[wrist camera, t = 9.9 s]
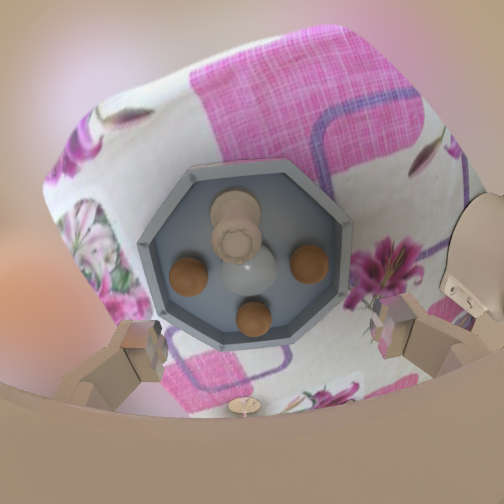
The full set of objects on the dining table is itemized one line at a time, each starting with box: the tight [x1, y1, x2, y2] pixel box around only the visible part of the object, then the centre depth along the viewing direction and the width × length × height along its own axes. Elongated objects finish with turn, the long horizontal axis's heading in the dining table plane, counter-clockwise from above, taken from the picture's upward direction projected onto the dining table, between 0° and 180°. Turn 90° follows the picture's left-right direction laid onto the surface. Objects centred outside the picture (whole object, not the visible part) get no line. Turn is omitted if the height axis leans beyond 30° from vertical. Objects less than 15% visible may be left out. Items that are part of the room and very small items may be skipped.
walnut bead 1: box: [169, 257, 208, 297], centre depth 25 cm, size 4×4×4 cm
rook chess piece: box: [210, 186, 262, 265], centre depth 21 cm, size 4×4×8 cm
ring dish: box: [137, 157, 353, 352], centre depth 26 cm, size 19×19×3 cm
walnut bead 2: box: [236, 301, 272, 337], centre depth 27 cm, size 4×4×4 cm
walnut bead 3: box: [290, 245, 329, 285], centre depth 25 cm, size 4×4×4 cm
